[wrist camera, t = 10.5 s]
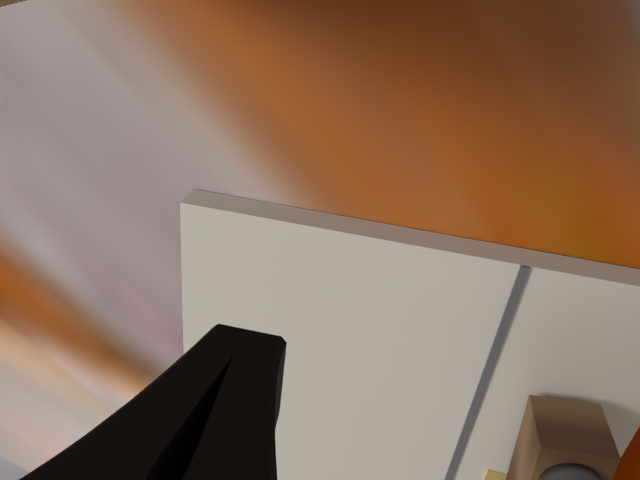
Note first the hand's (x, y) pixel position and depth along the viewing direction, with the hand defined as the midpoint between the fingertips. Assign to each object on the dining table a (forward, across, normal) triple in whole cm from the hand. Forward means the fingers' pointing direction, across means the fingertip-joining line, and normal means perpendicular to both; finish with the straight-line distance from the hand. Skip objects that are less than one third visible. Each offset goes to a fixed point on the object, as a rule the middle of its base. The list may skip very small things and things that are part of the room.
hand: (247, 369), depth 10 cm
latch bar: (+8, -10, +12) cm, 18 cm away
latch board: (+10, -4, +10) cm, 15 cm away
